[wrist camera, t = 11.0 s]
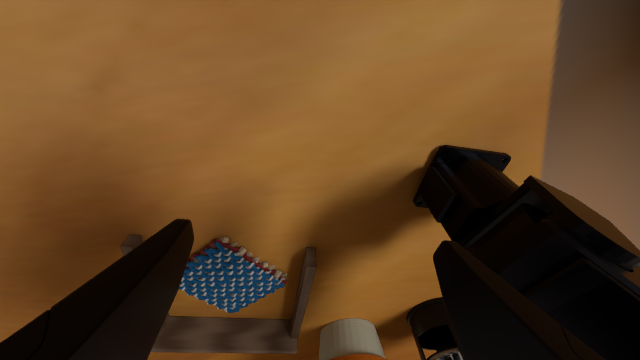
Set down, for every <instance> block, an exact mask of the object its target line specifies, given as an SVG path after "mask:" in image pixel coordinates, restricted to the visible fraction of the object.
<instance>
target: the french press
mask: <svg viewBox="0 0 640 360" xmlns="http://www.w3.org/2000/svg"><path fill="white" fill-rule="evenodd" d="M407 322H408V324H409V326H410V327H411V330H412V333H413V336H414V339H415V342H416V345H417V348H418V351H419V354H420V357H421V360H465V358H464V356H463V353H462V350H461V347H460V345H459V342H458V339H457V336H456V333H455V331H454V328H453V325H452V322H451V320H450V317H449V314H448V311H447V308H446V306H445V303H444V300H443V297H442V298H436V299H432V300H428V301H426V302H423V303H421V304H419V305H417V306H416V307H414V308H413V309H412V310H411V311H410V312H409V313H408V315H407ZM423 349H426V350H436V351H437V352H436V353H434V354H432V355H431V356H430V357H428V358H427V359H426V358H425V355H424V352H423Z"/></svg>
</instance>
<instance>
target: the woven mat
mask: <svg viewBox="0 0 640 360" xmlns="http://www.w3.org/2000/svg"><path fill="white" fill-rule="evenodd" d="M228 241H229V238H228V237H222V238H221V239H218V238H217V239H216V240H215V241H214V240H212V241H211V244H212V245H209V244H208V245H207V246H206V247H205V248H206V249H202V250H201V251H200V252H198V253H196V254H193V255H192V259H190V258H189V259H188V261H187V265H186V268H185V271H184V274H183V277H182V280H181V283H180V286H179V289H181V290H182V291H184V290H185V291H186V292H187V294H186V295H192V296H194V297H196V296H197V298H196V299H198V298H199V299H200V300H204V301H205V302H207V304H212V305H217V306H218V308H217V309H223V310H225V311H226V312H227V311H228V312H229V313H234V312H238V311H239V310H240V309H239V308H243V307H244V306H245V307H247V306H248V304H251V303H253V302H254V303H255V302H256V301H257V300H256V299H260V298H261V296H262V298H264V297H265V296H266V295H265V294H269V293H274V292H275V290H274V289H279V288H280V287H281V288H283V287H284V286H285V285H284V284H286V283H287V281H286V280H285V279H284V277H286V276H287V275H288V274H287V273H285V274H283V275H281V274H282V272H281V271H279V270H278V269H277V271H276V270H272V269H273V268H275V267H276V266H274V265H271V266H269V267H268V262H265V261H263V262H261V263H258V261H259V260H260V258H258V257H255V258H253V259H252V258H250V256H252V254H251V253H250V252H248V253H247V254H246V251H247V250H246V249H245V248H243V247H241V248H234V247H235V246H236V245H237V244H239V243H238V242H235V243H233V244H231V245H229V244H227V243H228ZM223 247H225V248H223ZM216 248H217V249H218V250H217V249H216ZM206 255H208V256H206ZM266 267H267V268H266ZM219 268H221V269H219ZM283 283H284V284H283ZM277 285H279V286H277ZM269 290H270V291H269ZM203 296H204V297H203ZM252 301H253V302H252ZM222 305H223V306H222ZM231 309H234V310H231Z"/></svg>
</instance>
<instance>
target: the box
mask: <svg viewBox="0 0 640 360" xmlns="http://www.w3.org/2000/svg"><path fill="white" fill-rule="evenodd" d="M141 243H143V241H142V239H141V236H140V235H129V236H128V237H127V239H126V240H125V241H124V243H123V244H122V245H121V246H120V247H121V249H122V251H123V253H124V256H125V255H126V254H127V253H129V252H130V251H132V250H133V249H134V248H136V247H137V246H139V245H140V244H141ZM315 271H316V248H310V247H307V248H306V253H305V258H304V263H303V267H302V272H301V277H300V282H299V286H298V291H297V296H296V301H295V305H294V310H293V315H292V320H280V319H247V318H213V317H180V316H169V314H167V316H166V318H165V321H164V323H163V325H162V327H161V329H160V332H159V334H158V336H157V338H156V341H155V343H154V345H153V347H152V350H151V352H185V353H278V354H297V351H298V336H299V332H300V328H301V324H302V321H303V317H304V313H305V309H306V305H307V302H308V298H309V294H310V290H311V286H312V282H313V279H314V275H315Z"/></svg>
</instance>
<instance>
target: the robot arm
mask: <svg viewBox="0 0 640 360" xmlns="http://www.w3.org/2000/svg"><path fill="white" fill-rule="evenodd" d="M445 150H447V151H446V152H445V153H443V152H444V151H445ZM510 160H511V157H510V156H509V155H508V154H506V153H500V152H493V151H486V150H479V149H471V148H464V147H457V146H450V145H444V146H442V147H440V148H439V150H438V152H437V154H436V156H435V158H434V160H433V162H432V164H431V166H430V168H429V169H428V171H427V173H426V175H425V177H424V179H423V181H422V183H421V185H420V187H419V189H418V192H417V194H416V196H415V198H414V200H413V203H414V204H415V206H417V207H425V208H429V210H430V211H431V213H432V215H433V216H434V218H435V220H436V221H437V222H438V223H441V224H442V226H443V227H444V229H445V231H446V232H447V234H448V235H449V237H450V239H451V240H452V241H447V240H444V241H442V242H441V244H440V245H439V247H438V248H437V250H436V251H435V253H434V255H433V261H434V265H435V269H436V273H437V277H438V281H439V285H440V289H441V293H442V296H443V300H444V303H445V306H446V308H447V311H448V314H449V317H450V320H451V322H452V325H453V328H454V331H455V333H456V336H457V339H458V342H459V345H460V347H461V350H462V353H463V356H464V358H465V360H640V250H639V249H638V248H636V246H635V245H634V244H633V243H632V242H631V241H630V240H629V239H627V237H626V236H625V235H623V234H622V233H621V232H620V231H619V230H618V229H617V228H616V227H615V226H614V225H613V224H612V223H611V222H610V221H609V220H607V219H606V218H604V217H602V216H601V215H600V214H598V213H597V212H595V211H594V210H592V209H591V208H589V207H588V206H586V205H585V204H583V203H582V202H580V201H579V200H577V199H576V198H574V197H573V196H571V195H569V194H567V193H565V192H563V191H561V190H559V189H557V188H555V187H553V186H551V185H549V184H547V183H545V182H543V181H541V180H539V179H537V178H535V177H533V176H531V175H530V176H529V177H528V178H527V179H526V180H524V181H523V182H524V183H523V184H522V185H521V186H520V187H519V186H518V185H517V184H515V183H514V182H513V181H512V180H511V179H509V178H508V177H507V176H506V175H505V174H503V173H502V172H503V170H504V169H505V168H506V166H507V165H508V163H509V162H510ZM419 201H420V202H419ZM193 242H194V234H193V228H192V223H191V221H190V220H188V219H176V220H174V221H172V222H171V223H170V224H168V225H167V226H165V227H164V228H163V229H161V230H160V231H158V232H157V233H156V234H154V235H153V236H151V237H150V238H148V239H147V240H146V241H144V242H143V243H141V244H140V245H139V246H137V247H136V248H134V249H133V250H132V251H130V252H129V253H127V254H126V255H125V256H123V257H122V258H120V259H119V260H117V261H116V262H115V263H113V264H112V265H110V266H109V267H108V268H106V269H105V270H103V271H102V272H101V273H99V274H98V275H96V276H95V277H93V278H92V279H91V280H89V281H88V282H86V283H85V284H84V285H82V286H81V287H79V288H78V289H77V290H75V291H74V292H72V293H71V294H69V295H68V296H67V297H65V298H64V299H62V300H61V301H60V302H58V303H57V304H55V305H54V306H53V307H51V309H50V310H47V311H45V312H44V313H42V314H41V315H40V316H38V317H37V318H35V319H34V320H33V321H31V322H30V323H28V324H27V325H25V326H24V327H23V328H21V329H20V330H18V331H17V332H15V333H14V334H12V335H11V336H9V337H8V338H7V339H5V340H4V341H2V342H1V343H0V360H147V359H148V356H149V354H150V352H151V350H152V347H153V345H154V343H155V341H156V338H157V336H158V334H159V332H160V329H161V327H162V325H163V323H164V321H165V318H166V316H167V314H168V312H169V309H170V307H171V305H172V303H173V300H174V298H175V296H176V294H177V291H178V289H179V286H180V283H181V280H182V277H183V274H184V271H185V268H186V265H187V261H188V258H189V255H190V252H191V249H192V246H193Z"/></svg>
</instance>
